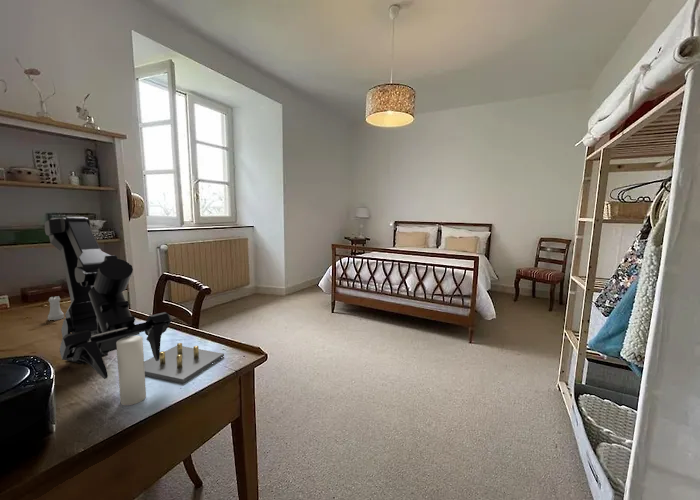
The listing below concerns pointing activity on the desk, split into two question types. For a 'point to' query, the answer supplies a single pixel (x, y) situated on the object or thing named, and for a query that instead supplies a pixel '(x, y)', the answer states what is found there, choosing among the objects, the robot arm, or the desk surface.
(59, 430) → the desk surface
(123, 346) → the cream post
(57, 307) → the rook chess piece
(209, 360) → the charcoal plate
